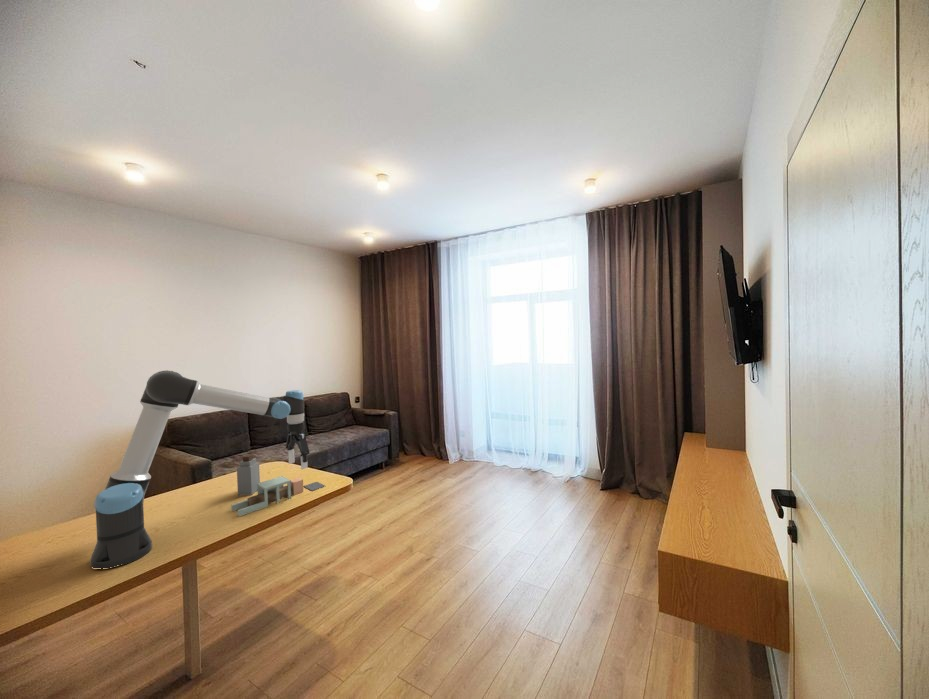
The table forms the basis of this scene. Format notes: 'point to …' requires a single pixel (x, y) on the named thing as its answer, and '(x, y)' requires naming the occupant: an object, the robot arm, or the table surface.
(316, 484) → the trap mat
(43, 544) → the table surface
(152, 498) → the table surface
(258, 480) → the perfume bottle
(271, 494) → the rod
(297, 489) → the block
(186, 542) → the table surface
